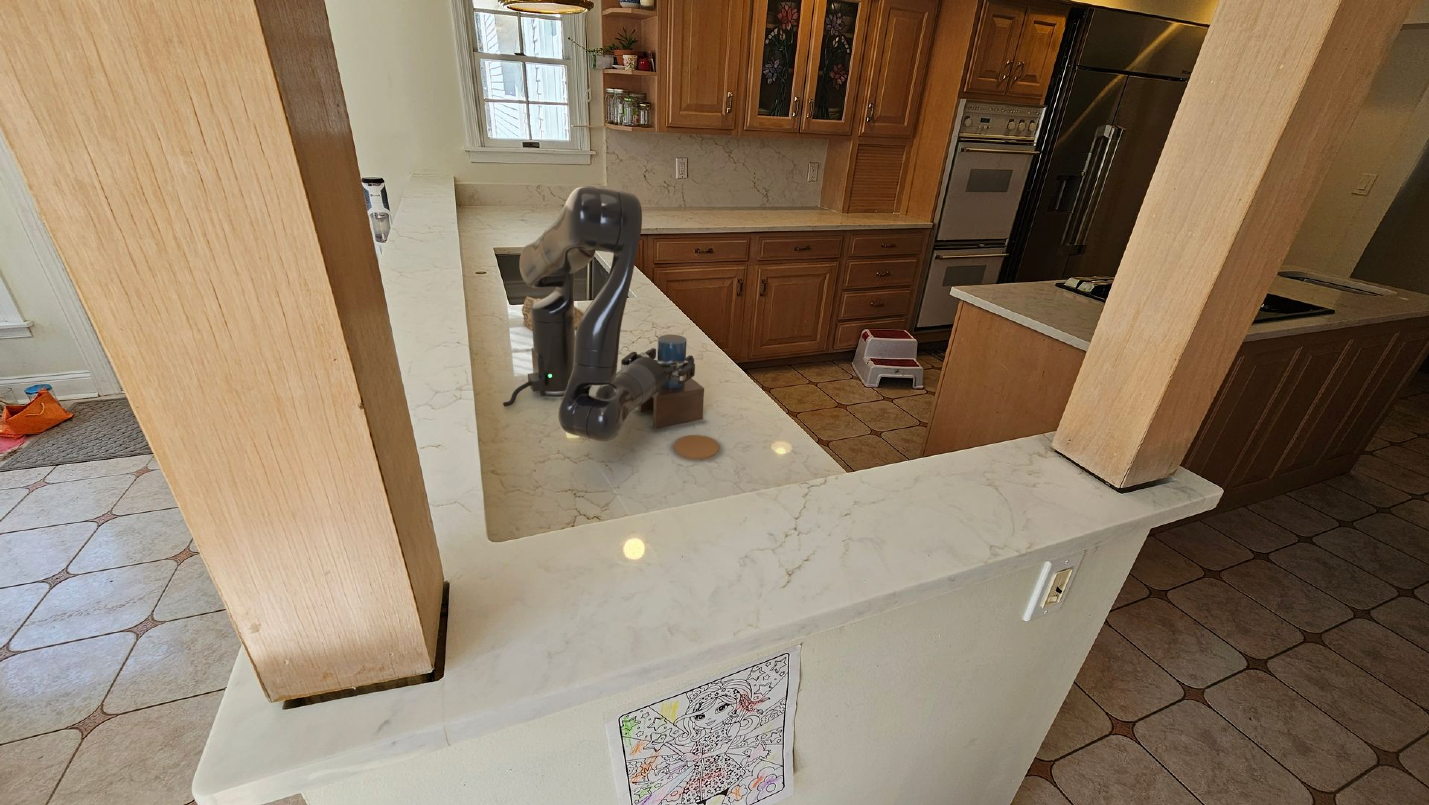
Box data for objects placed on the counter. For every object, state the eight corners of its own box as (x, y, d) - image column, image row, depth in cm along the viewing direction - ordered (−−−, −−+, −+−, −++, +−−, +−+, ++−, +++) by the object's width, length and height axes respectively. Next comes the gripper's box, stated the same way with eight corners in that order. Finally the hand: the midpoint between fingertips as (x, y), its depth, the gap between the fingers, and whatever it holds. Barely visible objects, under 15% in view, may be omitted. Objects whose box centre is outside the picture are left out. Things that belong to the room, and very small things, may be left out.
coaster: (686, 463, 116) (686, 460, 116) (666, 442, 123) (666, 439, 123) (727, 454, 120) (727, 451, 120) (706, 434, 127) (706, 431, 127)
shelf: (656, 430, 128) (656, 396, 124) (638, 411, 136) (638, 378, 132) (702, 421, 133) (704, 388, 129) (682, 403, 141) (683, 371, 137)
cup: (663, 390, 127) (664, 345, 123) (652, 380, 132) (653, 335, 128) (689, 386, 130) (691, 341, 126) (677, 376, 134) (679, 332, 130)
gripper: (672, 371, 111) (704, 345, 125) (603, 357, 115) (642, 333, 129) (671, 408, 114) (703, 378, 128) (604, 393, 119) (642, 366, 132)
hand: (672, 356), depth 129 cm, fingers open, 8 cm apart
